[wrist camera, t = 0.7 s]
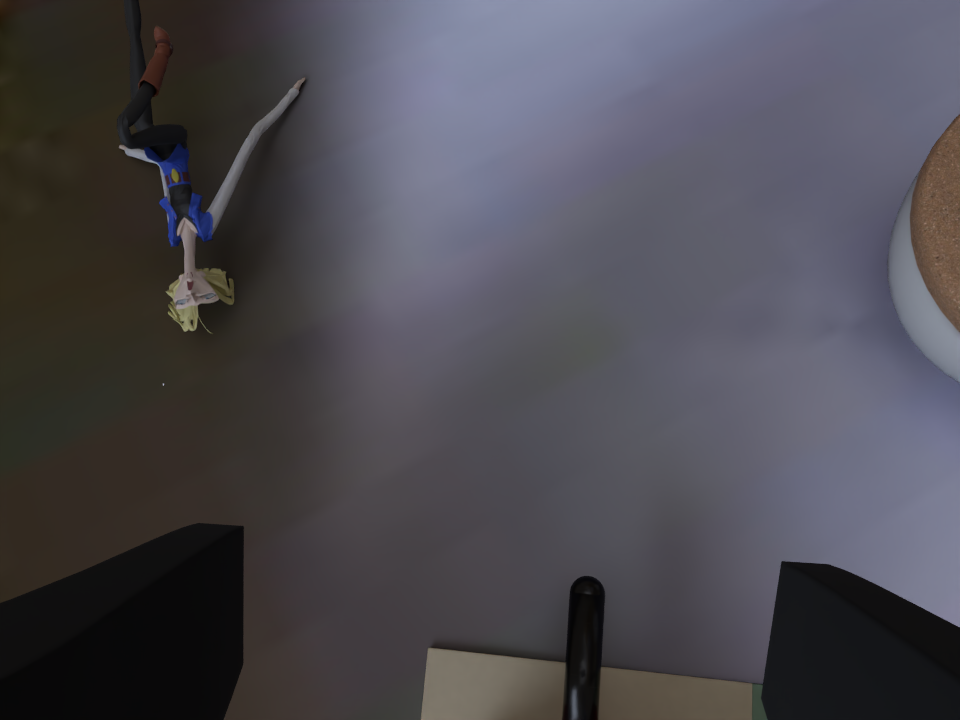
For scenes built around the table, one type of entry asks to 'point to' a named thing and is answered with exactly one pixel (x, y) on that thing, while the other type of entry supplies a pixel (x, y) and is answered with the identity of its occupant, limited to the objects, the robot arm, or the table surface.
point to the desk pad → (540, 688)
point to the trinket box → (930, 256)
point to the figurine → (180, 171)
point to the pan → (584, 650)
